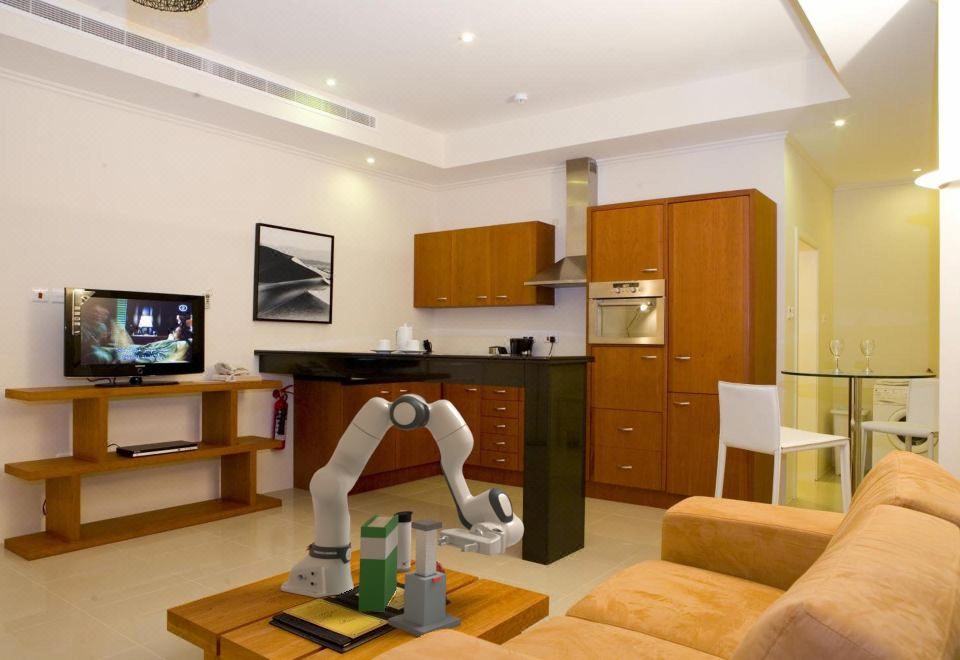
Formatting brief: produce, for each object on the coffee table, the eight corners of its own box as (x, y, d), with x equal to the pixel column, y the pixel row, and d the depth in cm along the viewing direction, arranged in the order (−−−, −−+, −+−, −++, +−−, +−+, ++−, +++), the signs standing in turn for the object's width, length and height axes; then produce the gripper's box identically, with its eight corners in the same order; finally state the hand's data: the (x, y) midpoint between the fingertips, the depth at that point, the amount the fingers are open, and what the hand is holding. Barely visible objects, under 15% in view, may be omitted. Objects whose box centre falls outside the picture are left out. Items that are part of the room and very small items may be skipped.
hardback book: (373, 592, 214) (375, 514, 215) (396, 593, 213) (398, 514, 215) (358, 611, 196) (360, 526, 198) (383, 613, 196) (386, 527, 197)
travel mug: (408, 573, 234) (409, 513, 235) (389, 571, 236) (391, 512, 237) (413, 567, 240) (414, 510, 242) (395, 566, 242) (397, 509, 243)
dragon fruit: (421, 596, 215) (434, 590, 227) (443, 581, 214) (454, 576, 226) (408, 572, 218) (421, 567, 229) (430, 557, 217) (441, 553, 228)
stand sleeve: (388, 624, 187) (389, 573, 188) (425, 611, 197) (426, 563, 198) (423, 638, 178) (424, 585, 178) (460, 624, 188) (461, 574, 189)
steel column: (409, 616, 188) (411, 521, 189) (425, 611, 192) (427, 518, 193) (424, 622, 183) (426, 525, 185) (440, 616, 188) (442, 522, 189)
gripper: (458, 521, 213) (426, 528, 203) (509, 533, 200) (477, 541, 189) (458, 542, 213) (425, 550, 203) (508, 555, 199) (476, 564, 189)
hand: (451, 545), depth 196 cm, fingers open, 8 cm apart
